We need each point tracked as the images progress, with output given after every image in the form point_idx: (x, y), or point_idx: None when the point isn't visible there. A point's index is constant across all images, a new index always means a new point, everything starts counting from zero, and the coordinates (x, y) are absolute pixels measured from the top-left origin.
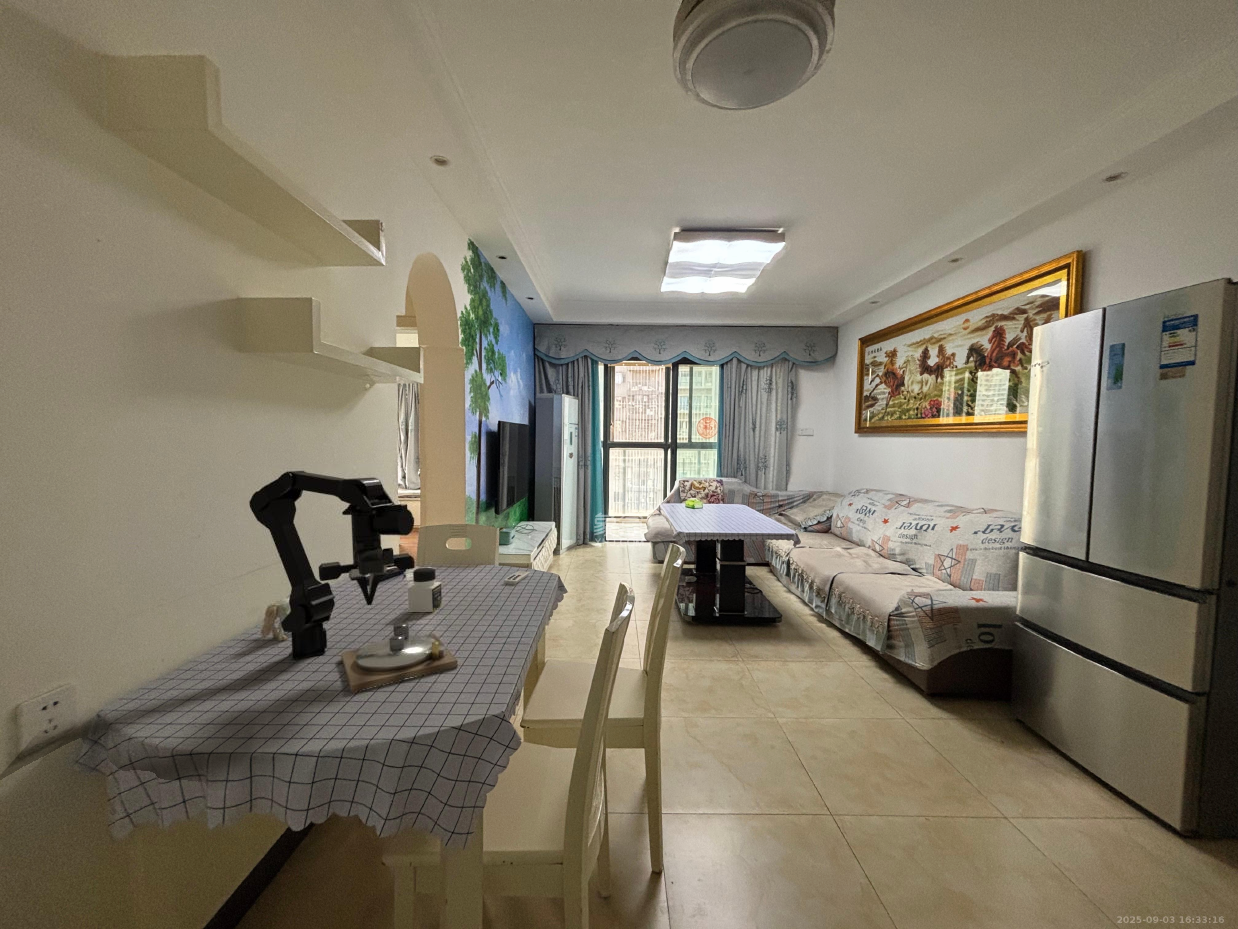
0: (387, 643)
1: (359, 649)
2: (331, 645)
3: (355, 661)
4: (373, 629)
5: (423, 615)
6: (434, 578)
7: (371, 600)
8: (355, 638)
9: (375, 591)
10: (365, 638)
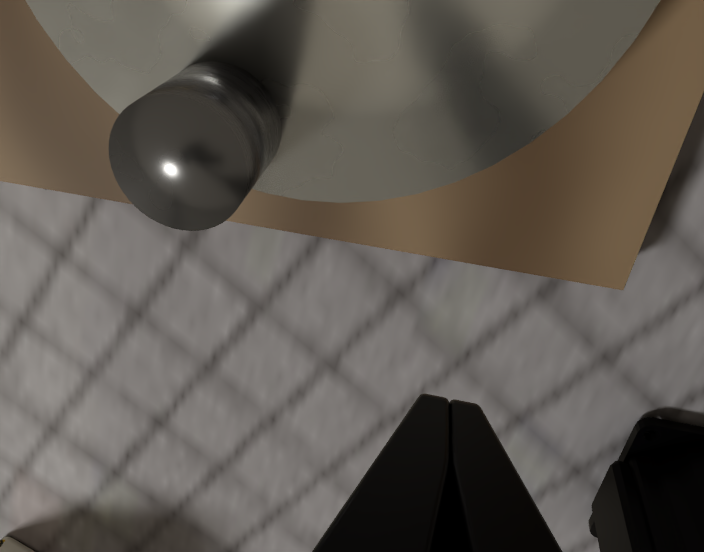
0: (348, 81)
1: (506, 257)
2: (552, 499)
3: None
4: (306, 542)
5: (55, 537)
6: None
7: (422, 431)
8: None
9: (329, 534)
10: None
